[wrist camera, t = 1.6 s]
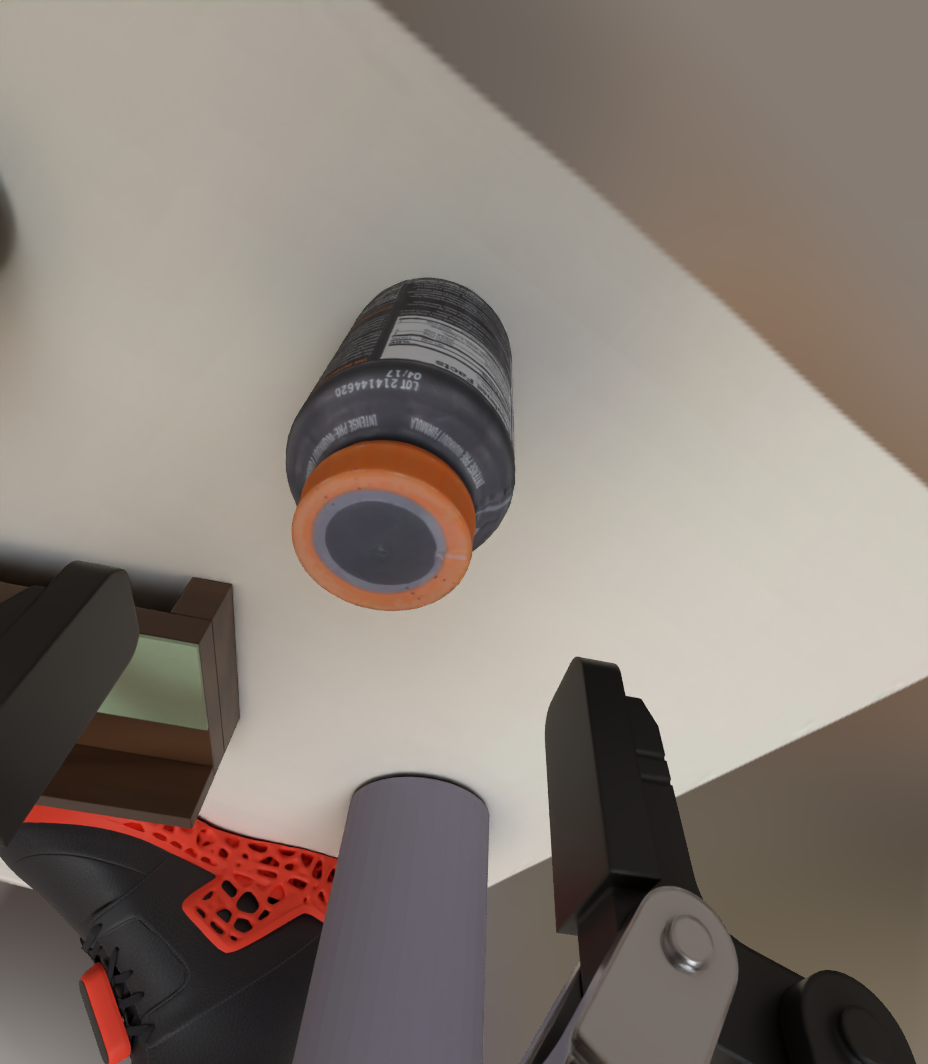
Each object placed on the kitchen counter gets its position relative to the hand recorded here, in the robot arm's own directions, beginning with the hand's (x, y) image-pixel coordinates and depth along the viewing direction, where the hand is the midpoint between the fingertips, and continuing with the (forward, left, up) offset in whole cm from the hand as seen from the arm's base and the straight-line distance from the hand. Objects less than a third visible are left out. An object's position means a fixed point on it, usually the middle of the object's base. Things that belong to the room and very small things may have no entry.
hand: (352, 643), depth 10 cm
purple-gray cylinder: (+34, +5, -14) cm, 37 cm away
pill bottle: (0, 0, -14) cm, 14 cm away
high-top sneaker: (+46, -11, -14) cm, 49 cm away
